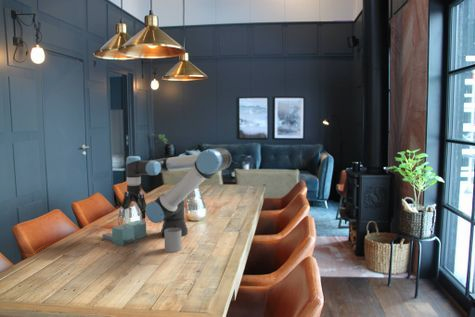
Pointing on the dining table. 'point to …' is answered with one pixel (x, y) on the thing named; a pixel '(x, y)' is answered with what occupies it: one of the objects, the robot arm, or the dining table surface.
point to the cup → (173, 240)
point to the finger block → (138, 229)
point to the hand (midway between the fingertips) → (134, 222)
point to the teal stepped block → (121, 235)
